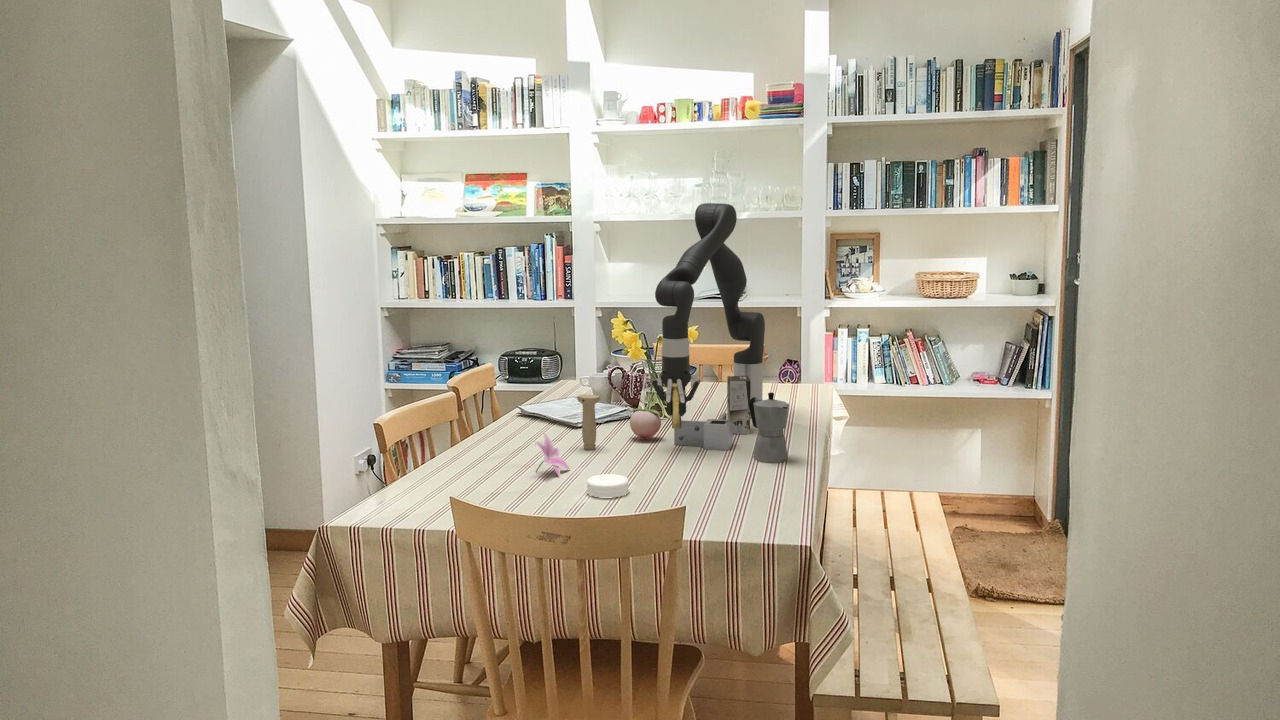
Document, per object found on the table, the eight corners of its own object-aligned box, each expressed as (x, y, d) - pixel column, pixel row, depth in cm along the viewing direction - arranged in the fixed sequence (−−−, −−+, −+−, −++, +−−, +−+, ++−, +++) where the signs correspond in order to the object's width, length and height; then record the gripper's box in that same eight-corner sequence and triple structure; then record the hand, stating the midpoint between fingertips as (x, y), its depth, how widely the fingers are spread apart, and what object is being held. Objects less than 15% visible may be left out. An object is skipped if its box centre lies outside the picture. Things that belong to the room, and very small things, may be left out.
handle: (593, 452, 268) (592, 398, 265) (575, 449, 271) (573, 396, 269) (603, 448, 272) (602, 395, 269) (585, 445, 275) (584, 393, 273)
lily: (538, 486, 240) (556, 454, 238) (510, 461, 246) (528, 429, 245) (568, 489, 249) (586, 458, 248) (541, 465, 256) (558, 434, 255)
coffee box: (750, 434, 286) (751, 380, 283) (728, 434, 286) (729, 380, 283) (748, 427, 295) (748, 375, 292) (726, 427, 295) (726, 375, 292)
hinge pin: (671, 426, 271) (671, 380, 269) (684, 426, 270) (683, 380, 268) (669, 429, 268) (668, 383, 265) (681, 429, 267) (681, 383, 265)
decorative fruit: (626, 442, 278) (625, 408, 277) (633, 435, 286) (632, 402, 284) (658, 443, 276) (657, 409, 274) (664, 437, 284) (663, 403, 282)
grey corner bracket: (683, 434, 287) (682, 411, 286) (736, 436, 283) (736, 413, 282) (672, 447, 272) (672, 423, 270) (728, 450, 268) (729, 425, 267)
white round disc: (605, 485, 237) (605, 471, 237) (637, 492, 231) (637, 478, 231) (578, 494, 230) (577, 480, 229) (609, 502, 223) (609, 487, 223)
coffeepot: (800, 461, 256) (801, 394, 253) (773, 466, 251) (774, 398, 248) (762, 449, 268) (762, 385, 266) (735, 454, 263) (736, 389, 260)
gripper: (703, 351, 267) (703, 413, 270) (653, 351, 271) (654, 411, 274) (698, 356, 260) (698, 419, 263) (647, 355, 263) (648, 417, 266)
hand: (676, 415), depth 268 cm, fingers closed on hinge pin, 2 cm apart
